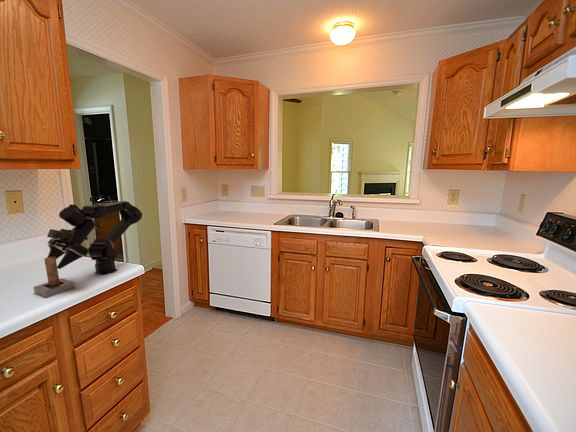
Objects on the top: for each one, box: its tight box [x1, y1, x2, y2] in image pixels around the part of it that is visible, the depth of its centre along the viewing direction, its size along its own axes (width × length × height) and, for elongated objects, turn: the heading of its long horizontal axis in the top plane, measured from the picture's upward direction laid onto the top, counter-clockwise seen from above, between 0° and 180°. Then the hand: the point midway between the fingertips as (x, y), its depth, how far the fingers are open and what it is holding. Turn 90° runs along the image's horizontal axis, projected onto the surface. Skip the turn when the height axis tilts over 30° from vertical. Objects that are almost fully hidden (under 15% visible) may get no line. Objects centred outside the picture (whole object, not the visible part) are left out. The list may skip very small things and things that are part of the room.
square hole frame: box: [33, 277, 76, 299], centre depth 104 cm, size 9×9×2 cm
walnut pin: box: [44, 256, 60, 288], centre depth 103 cm, size 3×3×13 cm
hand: (52, 266), depth 103 cm, fingers open, 9 cm apart
